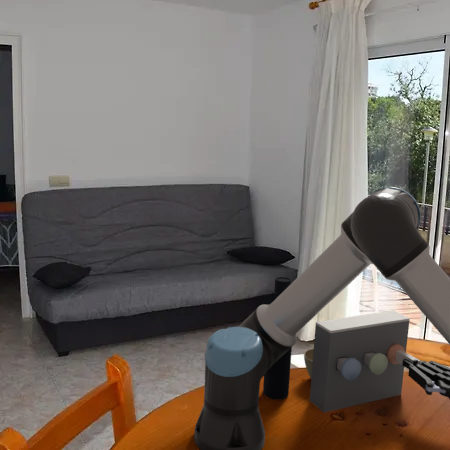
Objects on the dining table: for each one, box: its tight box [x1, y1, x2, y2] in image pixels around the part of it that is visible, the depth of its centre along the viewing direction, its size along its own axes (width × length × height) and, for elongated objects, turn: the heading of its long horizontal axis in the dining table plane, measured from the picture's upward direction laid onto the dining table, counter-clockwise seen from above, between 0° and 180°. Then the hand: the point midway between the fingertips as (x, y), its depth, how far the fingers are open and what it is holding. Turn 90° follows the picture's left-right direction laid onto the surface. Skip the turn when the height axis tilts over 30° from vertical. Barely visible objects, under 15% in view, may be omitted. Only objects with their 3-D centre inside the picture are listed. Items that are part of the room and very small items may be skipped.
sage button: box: [364, 352, 388, 375], centre depth 136 cm, size 4×5×5 cm
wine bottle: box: [262, 276, 293, 401], centre depth 140 cm, size 6×6×30 cm
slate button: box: [337, 357, 361, 380], centre depth 132 cm, size 4×5×5 cm
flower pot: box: [303, 348, 314, 379], centre depth 150 cm, size 10×10×7 cm
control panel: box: [309, 310, 410, 414], centre depth 140 cm, size 6×24×21 cm, turn 116°
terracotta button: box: [386, 344, 405, 365], centre depth 142 cm, size 4×5×5 cm
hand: (398, 355), depth 140 cm, fingers closed
